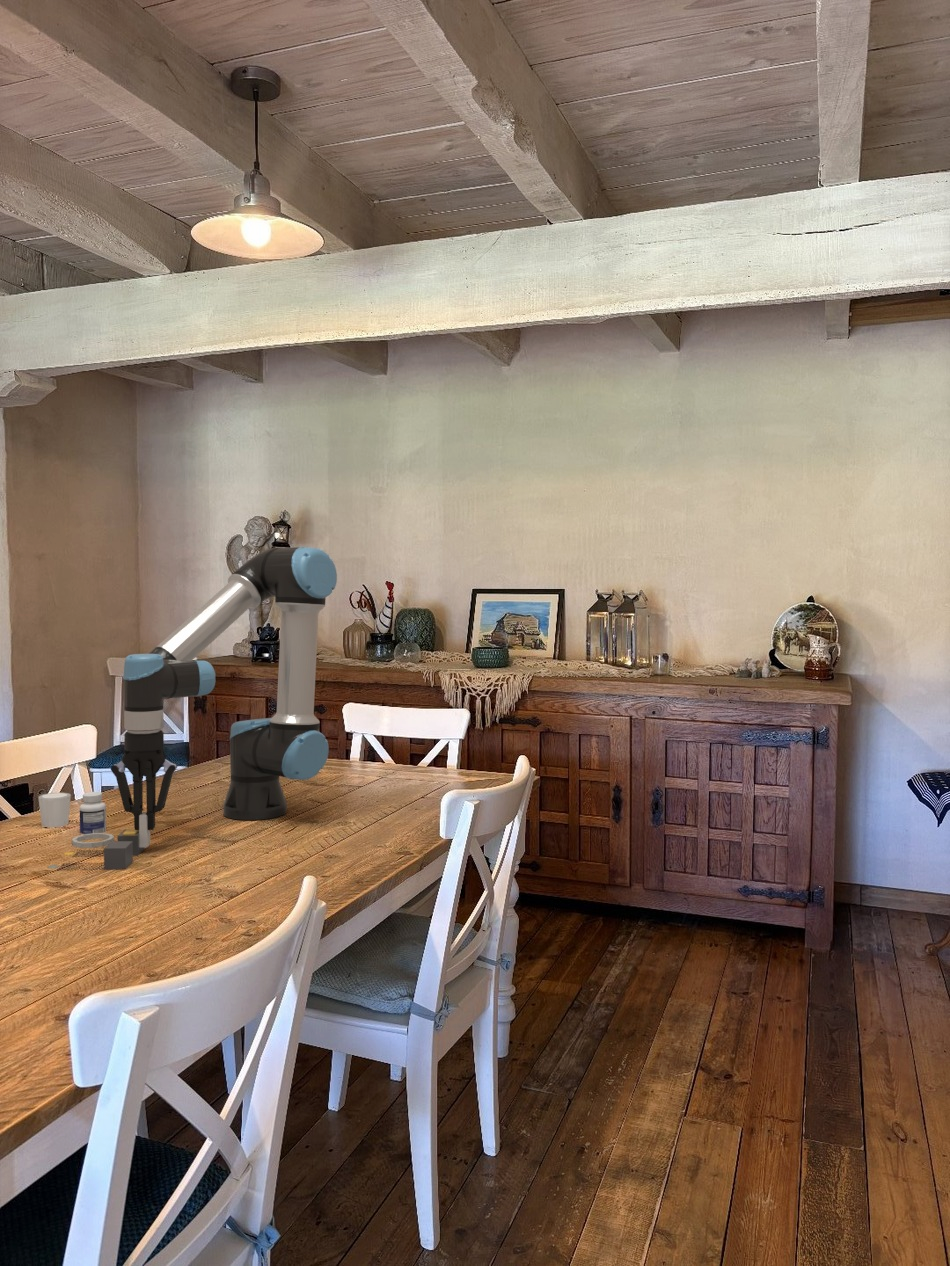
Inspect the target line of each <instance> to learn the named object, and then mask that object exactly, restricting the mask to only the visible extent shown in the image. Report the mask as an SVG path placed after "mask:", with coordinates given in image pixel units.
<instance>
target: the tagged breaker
mask: <svg viewBox="0 0 950 1266" xmlns="http://www.w3.org/2000/svg"><path fill="white" fill-rule="evenodd" d="M117 841H133V855H141V854H140V853H141V852H144V850H145V849H146V847H139V830H135V828H128V829H123V831H121V832H120V833H119V834H118V835H117Z"/></svg>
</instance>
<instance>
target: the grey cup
mask: <svg viewBox="0 0 950 1266" xmlns="http://www.w3.org/2000/svg"><path fill="white" fill-rule="evenodd" d="M71 796H72V795H71V793H68V792H51V793H49V792H48V793H43V794H41V795H38V796H37V797H38V805H39V814H40V823H41V827H42V826H44V827H60V828H62V827H61V826H65V825H67V824H68V825H69V821H70V809H71ZM68 825H67V826H68ZM65 827H66V826H65Z"/></svg>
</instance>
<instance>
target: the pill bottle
mask: <svg viewBox="0 0 950 1266" xmlns="http://www.w3.org/2000/svg"><path fill="white" fill-rule="evenodd" d="M102 800H103V793H102V792H101V791H89V792H85V793H83V794H82V801H83V803H81V804H80V806H79V833H80V834H81V835H84V834H91V833H106V832H107V808H106V807H107V805H106V803H105V802H103V801H102Z"/></svg>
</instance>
